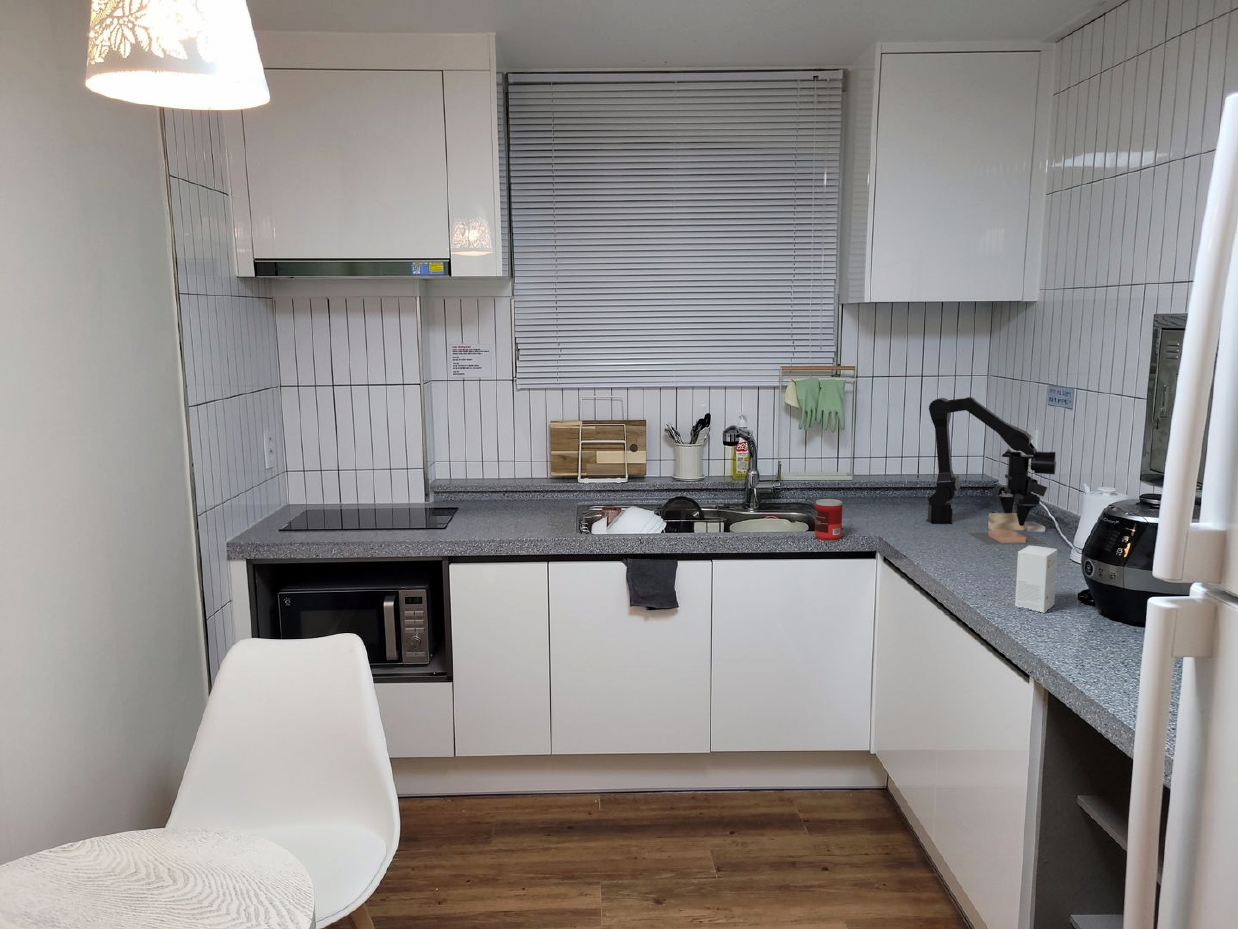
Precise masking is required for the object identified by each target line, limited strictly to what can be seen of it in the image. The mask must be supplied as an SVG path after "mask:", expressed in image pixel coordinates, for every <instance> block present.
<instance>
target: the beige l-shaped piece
mask: <svg viewBox="0 0 1238 929" xmlns="http://www.w3.org/2000/svg"><path fill="white" fill-rule="evenodd" d="M987 526H988V528H987V529H989V530H1013V531H1026V532H1028V533H1039V532H1040V533H1043V532H1046V526H1044V525H1042V524H1039V523H1038V522H1035V521H1025V523H1024V525H1023V526H1020V525H1019V522H1018V518H1017V514H1016V512H1014V513H1013V512H1012V513H1004V512H1001V513H997V512H996V513H995V512H993V513H992V512H991V513H988V525H987Z"/></svg>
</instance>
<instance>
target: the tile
mask: <svg viewBox="0 0 1238 929" xmlns="http://www.w3.org/2000/svg"><path fill="white" fill-rule="evenodd" d="M988 533H989V534H988V536H989V537H991V538H993V539H995V540H997V541H999V542H1000V543H1026V537H1025V536H1023V535H1021V534H1019V533H1020V532H1018V531H1016V530H991V529H989V530H988Z"/></svg>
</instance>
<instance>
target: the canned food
mask: <svg viewBox="0 0 1238 929" xmlns="http://www.w3.org/2000/svg"><path fill="white" fill-rule="evenodd" d="M814 516H815V517H814V518H815V519H814V526H815V527H814V536H815V538H816V539H818V540H820V541H839V540H840V539H841V537H842V532H843V530H842V529H843V528H842V527H843V526H842V525H843V524H842V523H843V501H842V500H839V499H835V498H834V499H833V498H822V499H817V500H815V515H814Z"/></svg>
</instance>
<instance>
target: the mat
mask: <svg viewBox="0 0 1238 929" xmlns="http://www.w3.org/2000/svg"><path fill="white" fill-rule="evenodd" d="M1018 533H1019V534H1021V535H1023V536H1025V537H1026V543H1000V542H999V541H997V540H995V539H993V538H991V537H989V536H988V534H989V532H967V534H969V535H970V536H971V537H974V538H976V539H977V540H979V541H980V542H982V543H984V544H986V545H988V546H989V545H990V546H992V545H997V546H998V545H1002V546H1003V545H1047V543H1046V542H1044V541H1042V540H1040V539H1037V538H1036V537H1034V536H1031V535H1030V534H1027V533H1025V532H1024V531H1023V532H1022V531H1021V532H1018Z"/></svg>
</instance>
